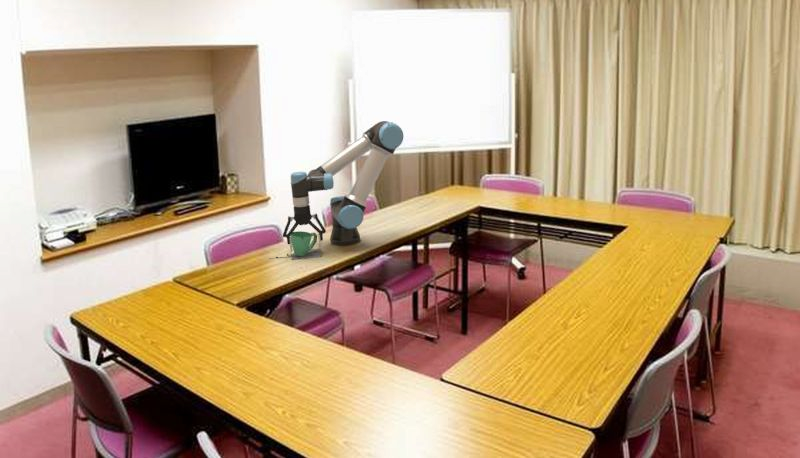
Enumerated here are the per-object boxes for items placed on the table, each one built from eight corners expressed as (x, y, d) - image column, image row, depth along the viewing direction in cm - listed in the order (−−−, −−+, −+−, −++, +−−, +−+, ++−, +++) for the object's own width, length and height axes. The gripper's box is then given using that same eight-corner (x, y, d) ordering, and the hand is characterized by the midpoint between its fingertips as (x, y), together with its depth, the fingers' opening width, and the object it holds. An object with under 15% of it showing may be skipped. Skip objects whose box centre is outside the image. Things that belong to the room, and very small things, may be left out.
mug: (299, 259, 315) (300, 238, 313) (285, 253, 321) (286, 233, 318) (322, 253, 326) (323, 233, 324) (308, 248, 332) (309, 228, 330)
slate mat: (320, 248, 332) (320, 248, 331) (321, 256, 318) (321, 256, 318) (291, 251, 330) (291, 251, 330) (291, 259, 316) (291, 259, 316)
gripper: (327, 201, 323) (331, 244, 329) (274, 206, 320) (279, 249, 325) (328, 204, 316) (332, 248, 321) (274, 209, 313) (279, 254, 318)
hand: (306, 249), depth 323 cm, fingers open, 13 cm apart
